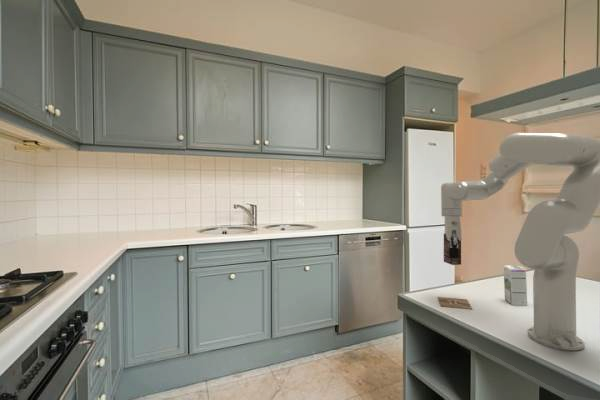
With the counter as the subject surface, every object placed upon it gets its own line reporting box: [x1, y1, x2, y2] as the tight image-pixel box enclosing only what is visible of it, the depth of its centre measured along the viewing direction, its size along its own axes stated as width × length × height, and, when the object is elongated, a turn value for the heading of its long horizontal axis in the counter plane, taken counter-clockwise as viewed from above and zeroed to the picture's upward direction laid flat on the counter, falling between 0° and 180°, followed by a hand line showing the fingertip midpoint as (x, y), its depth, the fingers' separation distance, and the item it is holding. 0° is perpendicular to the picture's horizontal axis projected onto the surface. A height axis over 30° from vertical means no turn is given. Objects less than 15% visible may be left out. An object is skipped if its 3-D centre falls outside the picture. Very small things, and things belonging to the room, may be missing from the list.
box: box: [443, 233, 462, 266], centre depth 119 cm, size 6×4×12 cm
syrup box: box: [503, 264, 528, 306], centre depth 116 cm, size 6×6×14 cm
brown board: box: [437, 296, 473, 310], centre depth 117 cm, size 11×11×1 cm
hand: (452, 255), depth 119 cm, fingers closed on box, 6 cm apart
